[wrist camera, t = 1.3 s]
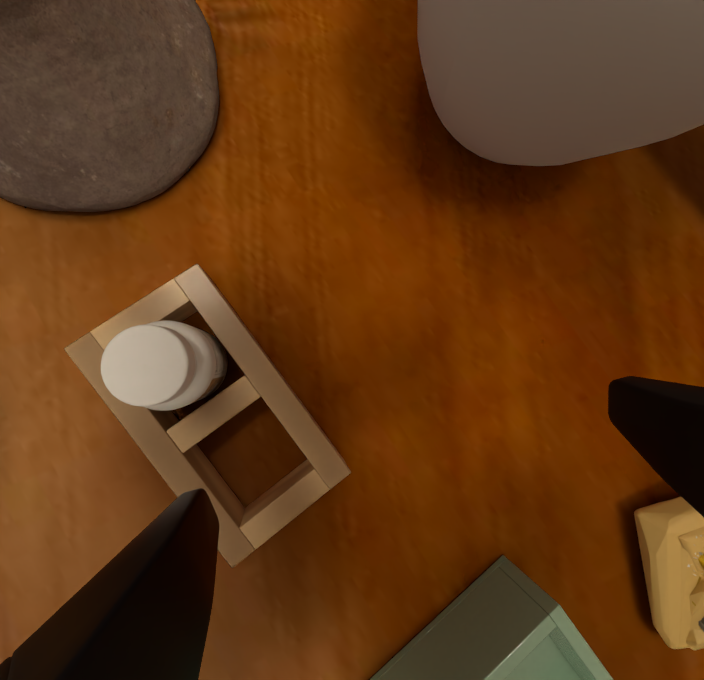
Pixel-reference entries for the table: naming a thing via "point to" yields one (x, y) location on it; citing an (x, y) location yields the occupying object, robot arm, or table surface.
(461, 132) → the vase
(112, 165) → the sculpture
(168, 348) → the pill bottle
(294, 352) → the table surface
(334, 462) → the rack
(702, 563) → the miniature beach sign
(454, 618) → the basin
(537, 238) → the table surface
